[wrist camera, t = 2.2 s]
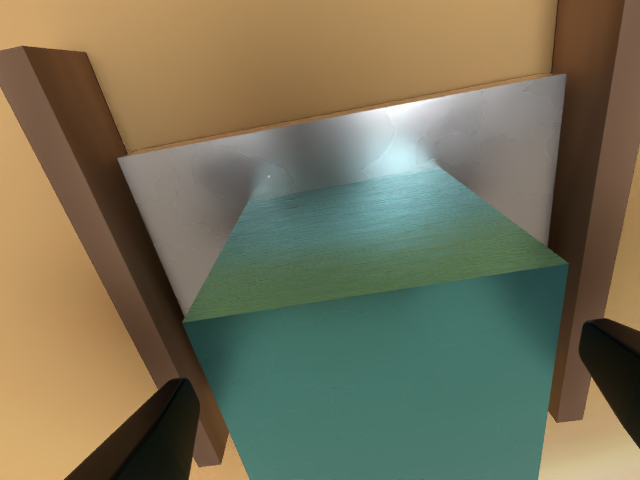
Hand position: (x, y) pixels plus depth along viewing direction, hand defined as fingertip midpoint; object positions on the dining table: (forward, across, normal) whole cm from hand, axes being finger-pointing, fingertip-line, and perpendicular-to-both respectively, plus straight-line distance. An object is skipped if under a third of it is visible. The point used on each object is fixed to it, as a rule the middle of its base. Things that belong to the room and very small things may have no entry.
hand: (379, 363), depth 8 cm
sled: (+6, 0, 0) cm, 6 cm away
